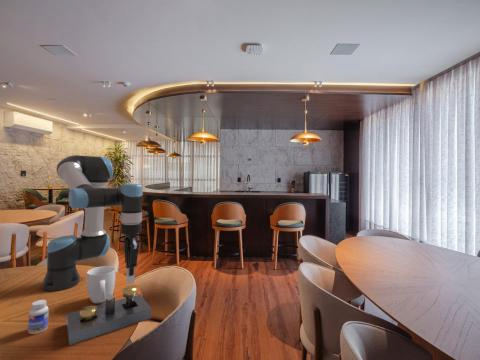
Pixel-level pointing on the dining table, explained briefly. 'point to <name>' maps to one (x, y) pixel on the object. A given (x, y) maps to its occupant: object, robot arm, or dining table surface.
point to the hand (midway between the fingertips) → (130, 282)
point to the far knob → (130, 294)
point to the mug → (100, 283)
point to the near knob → (88, 313)
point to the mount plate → (107, 320)
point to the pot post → (110, 303)
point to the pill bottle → (38, 317)
